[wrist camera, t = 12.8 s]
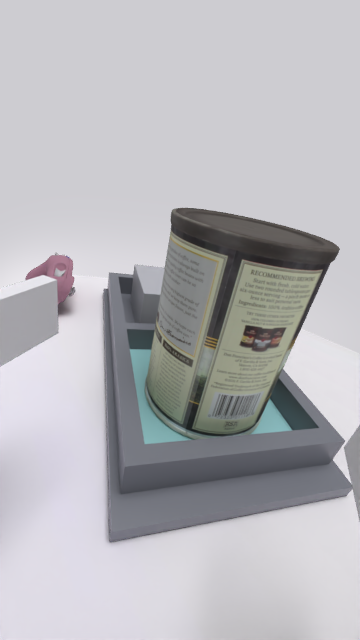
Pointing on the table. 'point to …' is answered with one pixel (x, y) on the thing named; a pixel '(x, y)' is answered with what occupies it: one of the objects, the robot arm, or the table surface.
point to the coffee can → (228, 318)
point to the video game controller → (57, 274)
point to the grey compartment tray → (201, 454)
